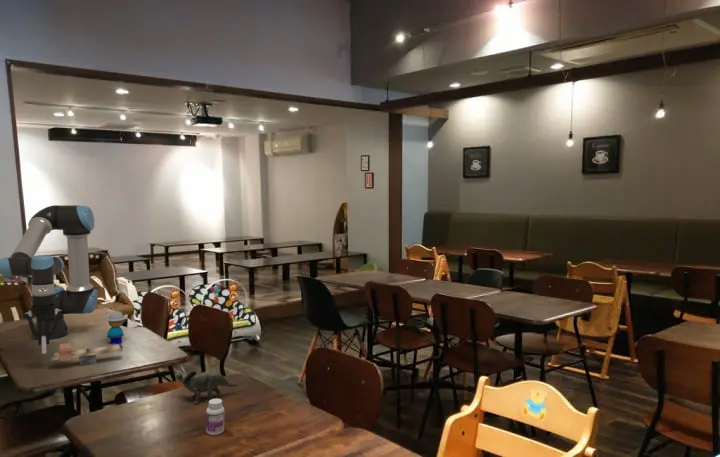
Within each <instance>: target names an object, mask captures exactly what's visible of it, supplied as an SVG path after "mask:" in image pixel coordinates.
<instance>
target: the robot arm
mask: <svg viewBox="0 0 720 457" xmlns="http://www.w3.org/2000/svg"><path fill="white" fill-rule="evenodd" d="M27 226H28V228H27V229H26V230H25V232H24V234H23V235H22V237H21V238H20V240H19V243H18V244H17V246H16V247H15V249H14V250H13V251H12V254H11V255H10V257H8V256H6V257H2V258H0V276H3V277H27V276H28V277H31V295H32V296H31V307H30V310H29V311H27V312H24V317H25V318H26V319H27V322H28V325H29V329H30V331H31V334H32V335H31V337H32V339H34V340H37V344H38V346H41V354H42V355H43V354H47V345H50V344H51V343H50V340H53V339H58V338H63V337H65V336H68V335H69V328H68V325H67V323H66V321H65V317H64V316H65V315H79V314H80V315H85V314H92V313H93V312H94V311H95V310H96V307H97V304H98V299H99V293H98V289H94V284H92V283H90V264H89V244H88V243H89V242H88V236H89V235H90V234H91V232H92V231H93V230H94V229H95V217H94V213H93V210H92V209H91V207H89V206H86V205H79V204H78V205H70V204H69V205H65V204H64V205H54V204H53V205H49V206H46V207H44V208H42V209H40V210H39V211H37V212H36V213H35V214H33V216H31V218H30V220H29V221H28V224H27ZM53 230H56V231H57V230H58V231H62V234H63V236H64V237H66V242H67V257H68V276H69V285H68V286H67V287H66V289H64V287H63V286H56V287H55V282H54V280H55V277H54V276H56V275H58V274H59V273H60V272H62V271H63V269H64V267H65V263H64V260H63V259H62V258H60V257H59V256H52V255H49V254H40V255H36V254H37V252H38V250H39V249H40V246H41V245H42V243H43V242H44V239H45V237H46V236H47V235H48V234H50V233H51V231H53ZM32 316H35V324H34V321H33V317H32Z"/></svg>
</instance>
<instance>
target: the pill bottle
mask: <svg viewBox="0 0 720 457" xmlns="http://www.w3.org/2000/svg"><path fill="white" fill-rule="evenodd" d="M205 413H206V414H205V423H206V424H205V426H206V427H205V429H206V434H208V435H211V436H217V435H221V434H222V433H223V432H224V431H225V407H224V406H223V400H222V398H211V400H210V401H209V402H208V407H207V408H206V412H205Z"/></svg>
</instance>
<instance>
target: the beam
mask: <svg viewBox="0 0 720 457" xmlns="http://www.w3.org/2000/svg"><path fill="white" fill-rule="evenodd" d="M123 348H124V347H123V345H122V343H120V344H114V345H110V346H109V345H108V346H100V347H99V346H98V347H90V348H82V349H76V350H72V359H73V358H78V360H79V361H78V362H79V367H83V366H91V365H97V355H105V354H113V353H119V352H123V351H124V350H123ZM50 355H51V357H50V358H51V361H58V360H59V361H60V351H59V352H54V351H51V352H50Z"/></svg>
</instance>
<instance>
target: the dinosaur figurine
mask: <svg viewBox="0 0 720 457" xmlns="http://www.w3.org/2000/svg"><path fill="white" fill-rule="evenodd" d="M179 366H180V368H181V370H182V371H180V370H177V369H176V368H175V367H174V371H175V372H176V375H175V379H176V381H177V382H180V384H182V385H183V386H184V388H185V389H187V390H188V391H189V392H191V393H193V394H194V395H191V396H190V398H191V400H192V399H193V400H194V399H195V400H194V401H193V402H192V404H193V405H198V404H199V405H200V398H201V394H202V393H207V397H206V399H204V402H206V403H207V402H208V403H209V401H210V400H211V399H213V398H212V397H213V392H214V393H215V394H216V396H215V399H220V397H221V396H222V393H221V390H220V389H218V388H219V387H236V386H239V383H231V382H229V381H228V380H227V379H226V378H225V376H224V375H223V374H222V373H220V372H217V371H214V370H213V371H212V370H211V371H210V370H206V371H203V372H201V373H198V372H197V371H196V370H190V371H189V372H188V373H187V372H186V369H185V368H184V367H183V366H182V365H179Z"/></svg>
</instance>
